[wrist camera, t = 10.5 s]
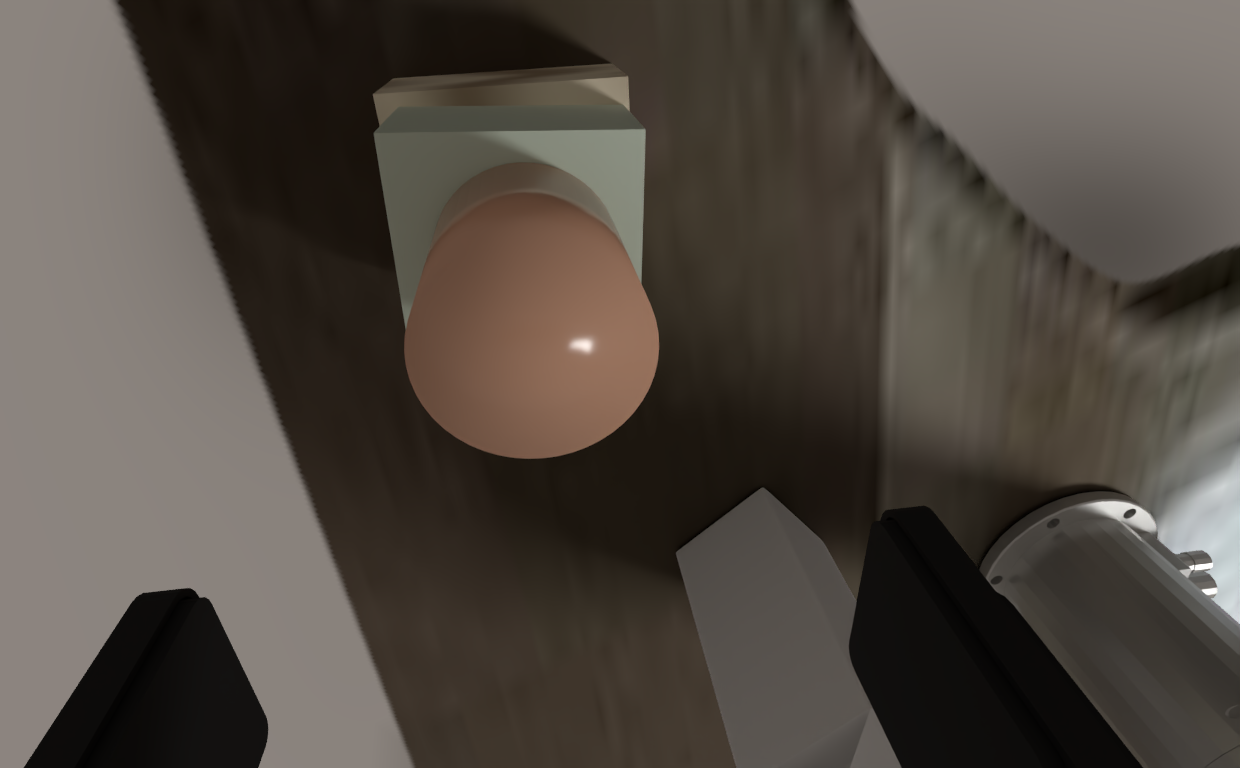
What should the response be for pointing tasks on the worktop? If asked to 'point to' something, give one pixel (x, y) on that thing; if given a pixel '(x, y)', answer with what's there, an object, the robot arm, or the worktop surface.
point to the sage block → (496, 135)
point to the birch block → (507, 89)
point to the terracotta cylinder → (529, 317)
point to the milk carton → (780, 642)
